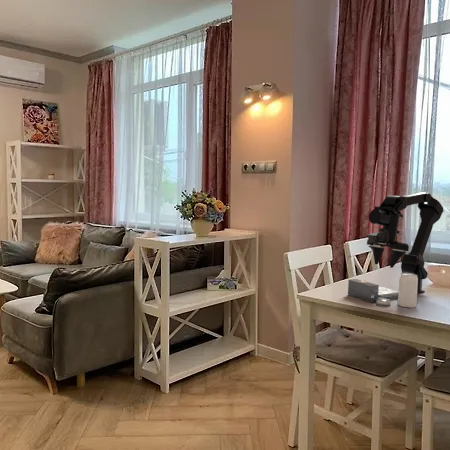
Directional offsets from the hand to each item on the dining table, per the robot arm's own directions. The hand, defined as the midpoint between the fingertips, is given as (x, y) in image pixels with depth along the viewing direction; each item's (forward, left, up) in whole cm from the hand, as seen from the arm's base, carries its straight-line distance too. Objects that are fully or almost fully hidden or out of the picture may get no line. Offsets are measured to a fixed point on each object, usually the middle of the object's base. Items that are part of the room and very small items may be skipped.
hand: (383, 266), depth 185 cm
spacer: (+8, +8, -13) cm, 17 cm away
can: (+1, +13, -13) cm, 18 cm away
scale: (+2, -2, -13) cm, 13 cm away
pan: (-1, -2, -11) cm, 11 cm away
